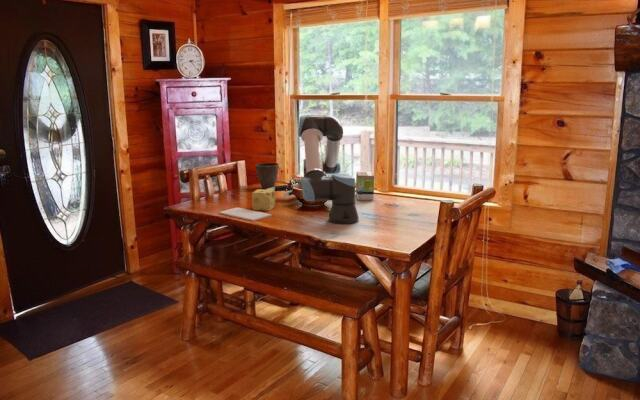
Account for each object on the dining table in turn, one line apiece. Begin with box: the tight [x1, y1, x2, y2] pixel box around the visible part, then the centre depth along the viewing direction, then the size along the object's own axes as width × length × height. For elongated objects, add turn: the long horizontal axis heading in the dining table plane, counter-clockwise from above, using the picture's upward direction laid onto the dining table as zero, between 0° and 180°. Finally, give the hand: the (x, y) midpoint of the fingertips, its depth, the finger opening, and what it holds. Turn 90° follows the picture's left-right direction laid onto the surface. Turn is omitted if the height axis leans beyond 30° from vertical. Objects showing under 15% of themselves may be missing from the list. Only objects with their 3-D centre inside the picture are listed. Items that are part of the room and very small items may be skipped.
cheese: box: [251, 188, 276, 212], centre depth 286 cm, size 10×11×10 cm
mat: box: [218, 207, 272, 222], centre depth 274 cm, size 26×13×1 cm, turn 52°
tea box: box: [355, 171, 375, 201], centre depth 310 cm, size 15×10×15 cm
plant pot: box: [255, 162, 279, 190], centre depth 337 cm, size 15×15×16 cm
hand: (275, 193), depth 293 cm, fingers open, 13 cm apart
